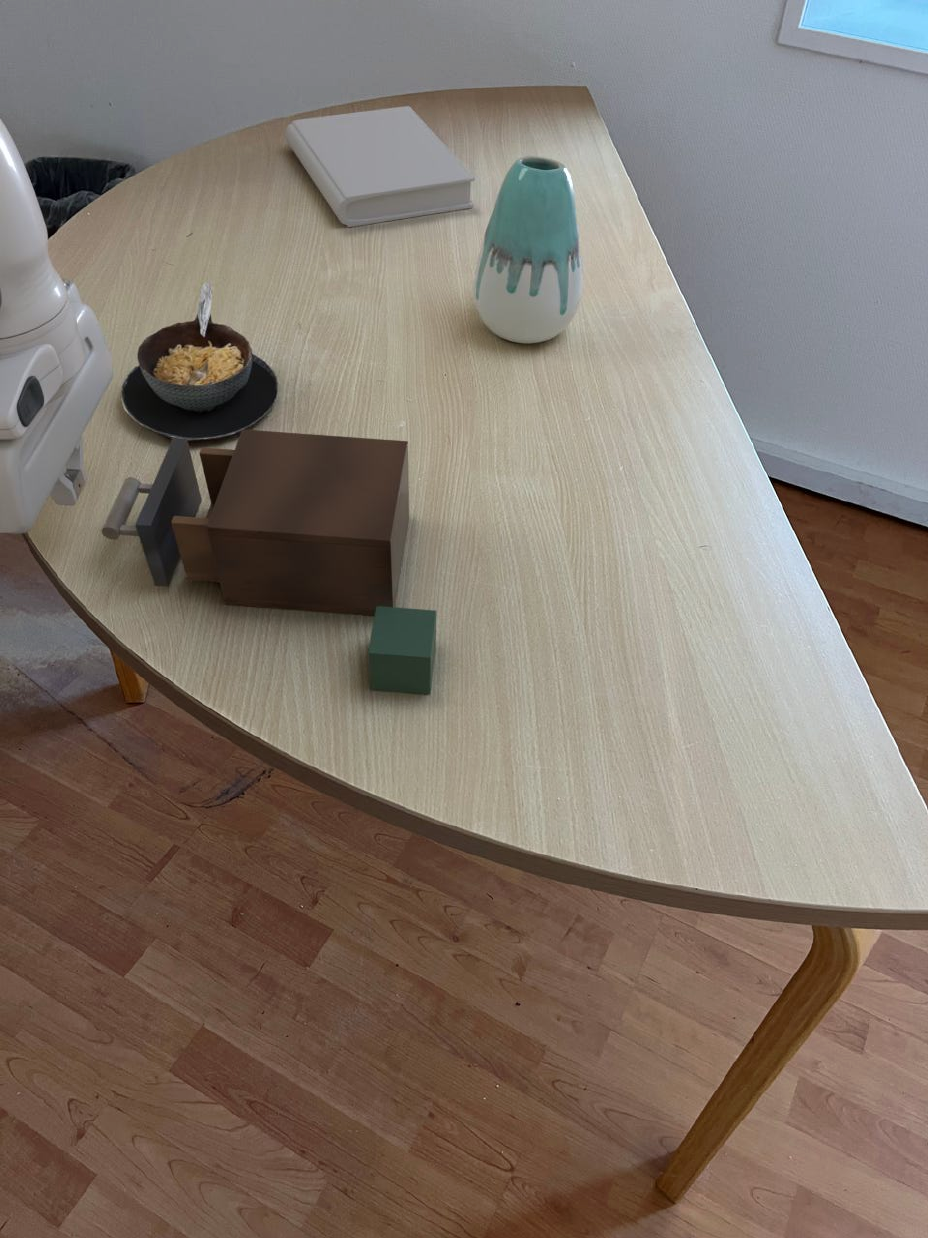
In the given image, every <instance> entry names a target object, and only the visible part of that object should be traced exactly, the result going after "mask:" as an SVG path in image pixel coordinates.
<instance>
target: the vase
mask: <svg viewBox="0 0 928 1238" xmlns="http://www.w3.org/2000/svg"><path fill="white" fill-rule="evenodd" d="M495 199H496V200H495V203H494V206H493V209H492V213H491V216H490V218H489V221H488V223H487V226H486V229H485V232H484V236H483V239H482V242H481V243H482V244H481V247H480V251H479V254H478V256H477V261H476V265H475V269H474V274H473V275H474V276H473V283H472V284H473V285H472V289H473V300H474V305H475V308H476V311H477V314H478V315H479V317H480V319H481V321H482V322H483V324H484V325H485V326H486V328H488V330H489V331H491V332H492V333H493V334H495V335H496V336H497V337H499V338H501V339H503V340H506V341H509V342H512V343H517V344H539V343H542V342H545V341H549V340H551V339H553V338H556V337H557V336H558V335H560V334H561V333H562V332H563V331H564V330H566V329H567V328H568V326H569V325H570V324H571V323H572V321H574V320H573V319H574V318H575V317H576V315H577V312H578V310H579V307H580V304H581V300H582V297H583V296H582V295H583V287H584V286H583V282H584V281H583V280H584V276H583V274H584V273H583V272H584V271H583V259H582V252H581V248H580V236H579V235H580V234H579V229H578V221H577V208H576V197H575V189H574V183H573V180H572V177H571V174H570V172H569V170H568V168H567V167H566V166H565V164H564V163H562V162H561V161H558V160H556V159H552V158H550V157H549V158H548V157H544V156H536V155H526V156H522V157H519V158H517V159H516V160H515V161H514V163H513V164H512V165H511V166H510V168H509V169H508V171H507V172H506V175H505V176H504V178H503V180H502V183H501V185H500V188H499V190H498V193H497V197H496V198H495Z"/></svg>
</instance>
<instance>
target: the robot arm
mask: <svg viewBox="0 0 928 1238" xmlns="http://www.w3.org/2000/svg"><path fill="white" fill-rule="evenodd" d="M16 145H17V144H15V142H14V140H13V137H12V135H11V133H10V132H9V129H8V128H7V127H6V124H4V122H3V120H2V119H1V118H0V533H1V534H26V533H29V532H30V531H31V530H32V529H33V527H34V525H35V523H36V522H37V519H38V517H39V515H40V513H41V512H42V510H43V508H44V505H46V502H47V500H48V498H49V497H51V500H52V501H53V503H54V504H56V505H59V506H70V507H72V506H75V505H76V503H77V501H78V499H79V497H80V494H81V493H82V491H83V489H84V488H85V485H86V484H87V481H88V476H87V473H86V470H85V468H84V438H83V434H84V432H85V431H86V428H87V427H88V424H89V423H90V421H91V419H92V417H93V415H94V414H95V411H96V410H97V408H98V406H99V405H100V402H101V400H102V398H103V397H104V395H105V393H106V391H107V389H108V388H109V386H110V384H111V382H112V380H113V379H114V378H113V377H114V361H113V356H112V353H111V351H110V348H109V345H108V342H107V340H106V337H105V335H104V332H103V330H102V327H101V325H100V322H99V320H98V319H97V316H96V314H95V312H94V311H93V309H92V308H91V307H90V306H89V305H88V304H85V303H83V301H82V299H81V296H80V293H79V290H78V287H77V286H76V283H74V282H72V281H71V280H69V279H67V278H62V277H61V276H60V274H59V272H57V270H56V268H55V267H54V265H53V263H52V261H51V258H50V255H49V236H48V235H49V234H48V229H47V226H46V223H45V219H44V215H43V212H42V210H41V207H40V204H39V201H38V198H37V195H36V192H35V189H34V186H33V184H32V182H31V181H32V180H31V179H30V175H29V173H28V170H27V168H26V165H25V163H24V161H23V159H22V156H21V155H20V152H19V150H18V147H17V146H16Z"/></svg>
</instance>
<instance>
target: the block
mask: <svg viewBox="0 0 928 1238" xmlns="http://www.w3.org/2000/svg"><path fill="white" fill-rule="evenodd" d="M436 649H437V610H433V609H420V608H409V607H405V608H404V607H396V606H395V607H382V606H376V611H375V616H373V622H372V629H371V634H370V639H369V645H368V651H367V657H368V670H369V672H368V673H369V684H370V685H369V686H370V690H371V691H378V692H379V691H381V692H393V693H404V694H405V693H407V694H419V695H431V694H432V683H433V675H434V667H435V666H434V665H435V658H436Z"/></svg>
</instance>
